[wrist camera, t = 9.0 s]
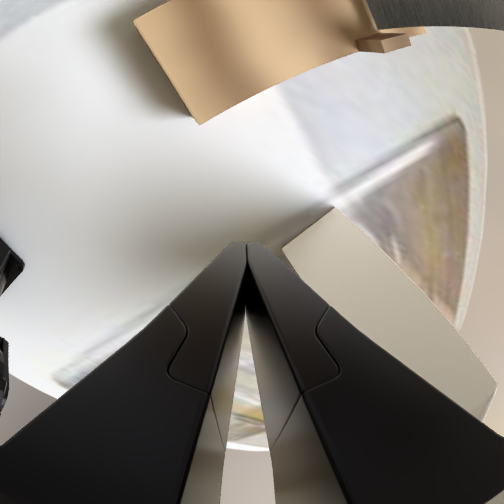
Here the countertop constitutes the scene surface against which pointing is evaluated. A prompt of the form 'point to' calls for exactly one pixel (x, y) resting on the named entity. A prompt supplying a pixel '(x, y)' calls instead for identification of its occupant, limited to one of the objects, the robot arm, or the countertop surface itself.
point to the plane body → (255, 44)
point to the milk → (389, 308)
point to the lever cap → (437, 13)
